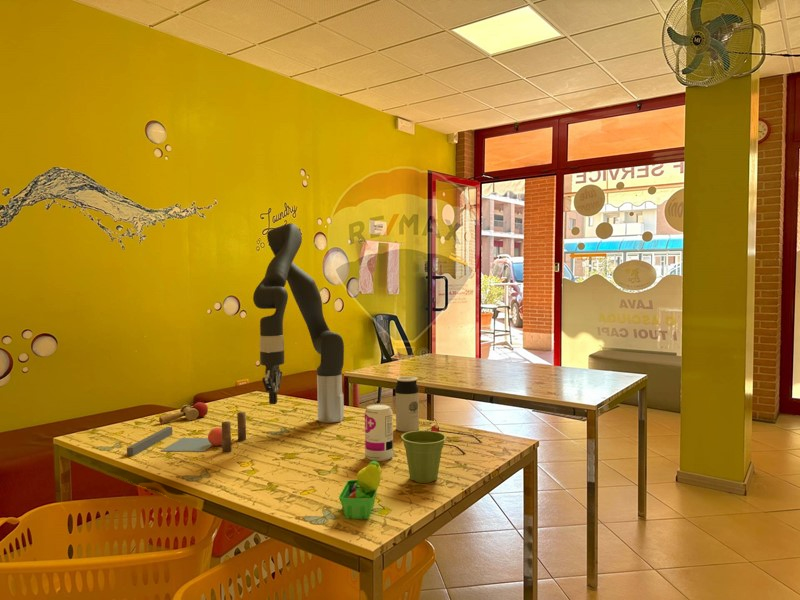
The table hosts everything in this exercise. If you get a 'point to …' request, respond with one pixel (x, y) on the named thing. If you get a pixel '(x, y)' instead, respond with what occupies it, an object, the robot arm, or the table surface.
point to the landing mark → (189, 445)
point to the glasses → (450, 432)
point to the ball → (215, 436)
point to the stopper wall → (149, 441)
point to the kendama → (187, 413)
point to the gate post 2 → (241, 426)
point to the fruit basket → (361, 492)
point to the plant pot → (423, 454)
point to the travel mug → (407, 404)
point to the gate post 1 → (226, 437)
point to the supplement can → (378, 432)
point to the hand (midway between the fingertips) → (273, 403)
